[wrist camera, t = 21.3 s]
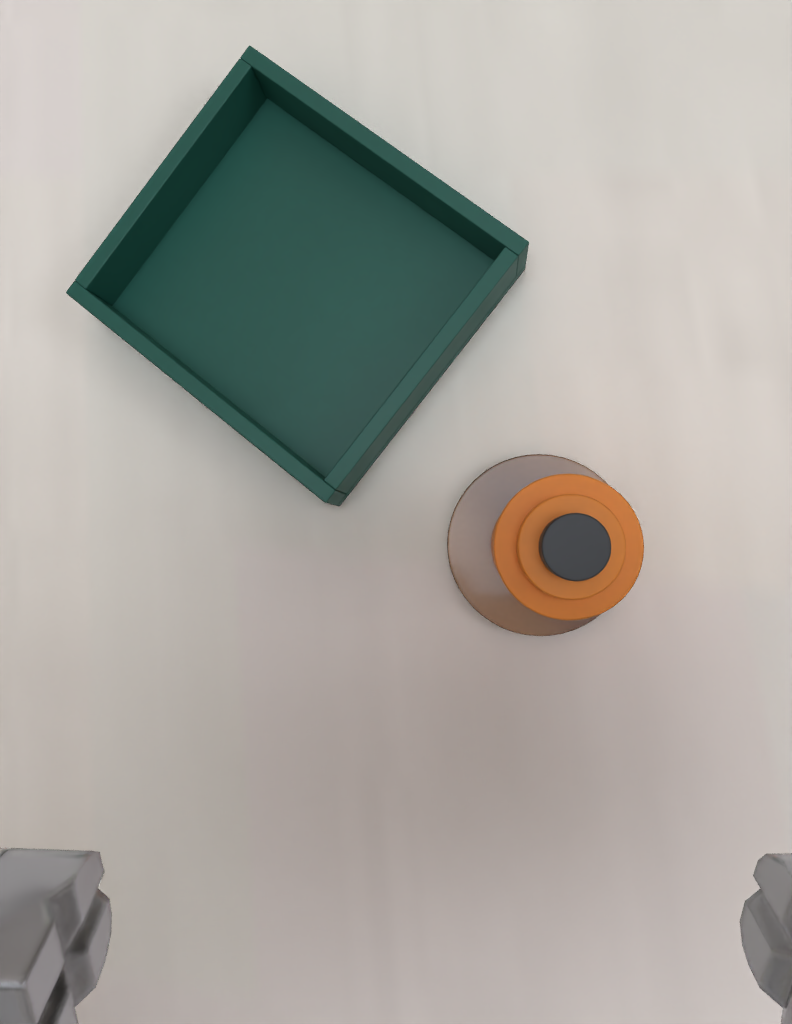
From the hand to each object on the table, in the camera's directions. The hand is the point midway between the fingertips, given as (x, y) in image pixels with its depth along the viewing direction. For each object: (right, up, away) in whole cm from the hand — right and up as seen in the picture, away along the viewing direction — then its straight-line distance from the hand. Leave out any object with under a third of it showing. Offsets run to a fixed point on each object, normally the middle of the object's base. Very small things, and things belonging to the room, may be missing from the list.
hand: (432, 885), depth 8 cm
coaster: (+7, +3, +25) cm, 26 cm away
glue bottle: (+7, +3, +25) cm, 26 cm away
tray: (-5, +16, +28) cm, 33 cm away
